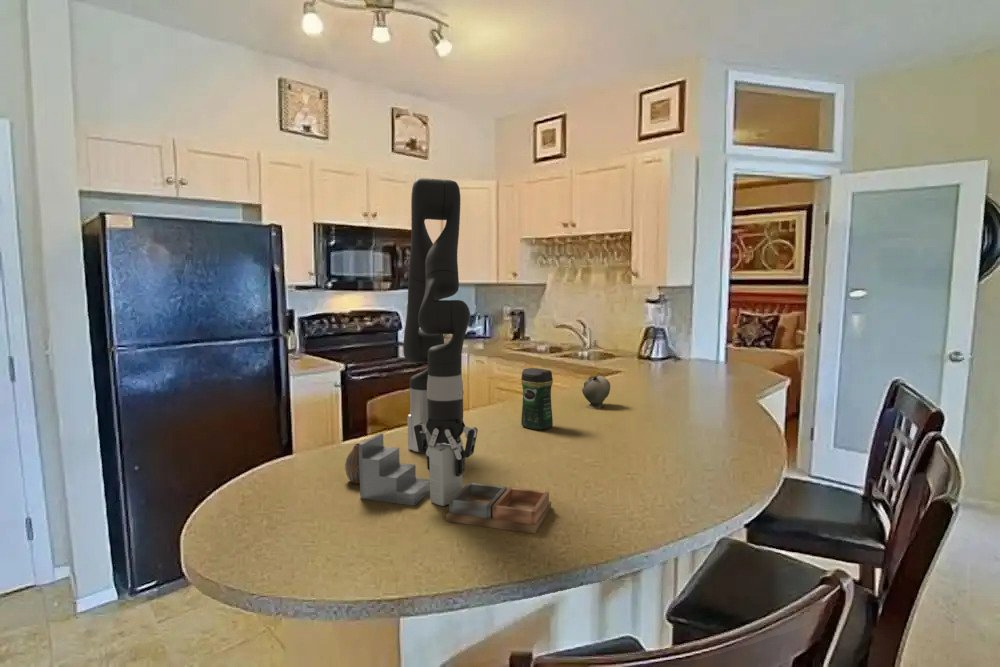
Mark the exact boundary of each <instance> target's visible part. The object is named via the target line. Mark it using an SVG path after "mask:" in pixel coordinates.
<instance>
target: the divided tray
mask: <svg viewBox="0 0 1000 667" xmlns="http://www.w3.org/2000/svg"><path fill="white" fill-rule="evenodd" d="M448 506H449V507H448V508H449V510H448V513H447V514H446V515H445V522H449V523H456V524H457V523H458V524H463V525H464V524H465V525H470V526H472V525H473V526H478V527H485V528H491V529H499V530H506V531H514V532H520V533H527V534H536V533H537V531H538V529H539V528H540V526H541V525H542V522H544V520H545V518H546V516H547V515H548V513H549V511H550V510H551V508H552V501H550V491H543V490H535V489H526V488H520V487H519V488H517V487H508V486H501V485H493V484H483V483H476V482H468V483H467V484H465V486H463V488H462V489H461V490H460V491H459V492H458V493H457V494H456V495H455V496H454V497H453V498H452V499H451V500H450V501H449V504H448Z"/></svg>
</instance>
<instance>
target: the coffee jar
mask: <svg viewBox="0 0 1000 667" xmlns="http://www.w3.org/2000/svg"><path fill="white" fill-rule="evenodd" d="M553 378H554V377H553V373H552V371H551V370H548V369H543V368H538V367H537V368H536V367H530V368H523V370H522V373H521V378H520V379H521V381H520V382H521V386H522V406H521V420H520V423H521V426H522V427H523V428H527V429H531V430H537V431H540V430H548V429H551V428H552V427H553V424H554V422H553V420H554V419H553V409H552V394H551V393H552V386H553V383H554V379H553Z"/></svg>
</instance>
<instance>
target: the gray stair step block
mask: <svg viewBox="0 0 1000 667" xmlns="http://www.w3.org/2000/svg"><path fill="white" fill-rule="evenodd" d="M359 443H360V444H359V469H360V484H359V498H360V499H363V500H371V501H376V502H385V503H392V504H400V505H407V506H413V507H414V506H415V505H416V504H418V503H419V502H420V501H422V500H423V499H424V498H425V497H426V496H427V495H428V494H429V495H430V478H429V479H428V478H421V477H416V474H417V472H416V470H417V469H416V464H411V463H403V462H402V463H401V462H400V448H399V447H394V446H393V447H392V446H385V445H384V433H383V432H381V433H378V434H376V435H374V436H372V437H370V438H368V439H366V440H365V441H363V442H359Z"/></svg>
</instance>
